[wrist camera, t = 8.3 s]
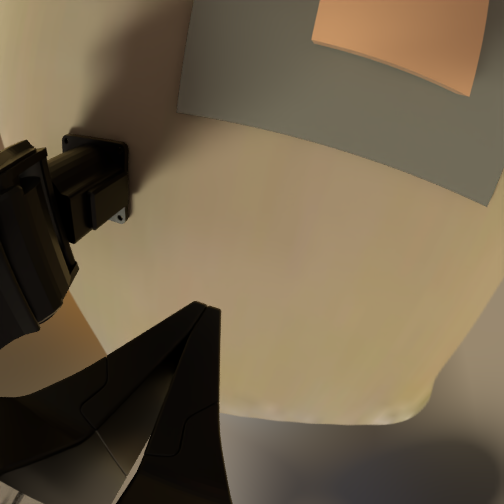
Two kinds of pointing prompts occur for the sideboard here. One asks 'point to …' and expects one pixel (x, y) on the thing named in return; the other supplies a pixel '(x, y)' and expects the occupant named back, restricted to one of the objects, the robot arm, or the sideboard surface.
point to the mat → (345, 93)
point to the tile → (409, 35)
